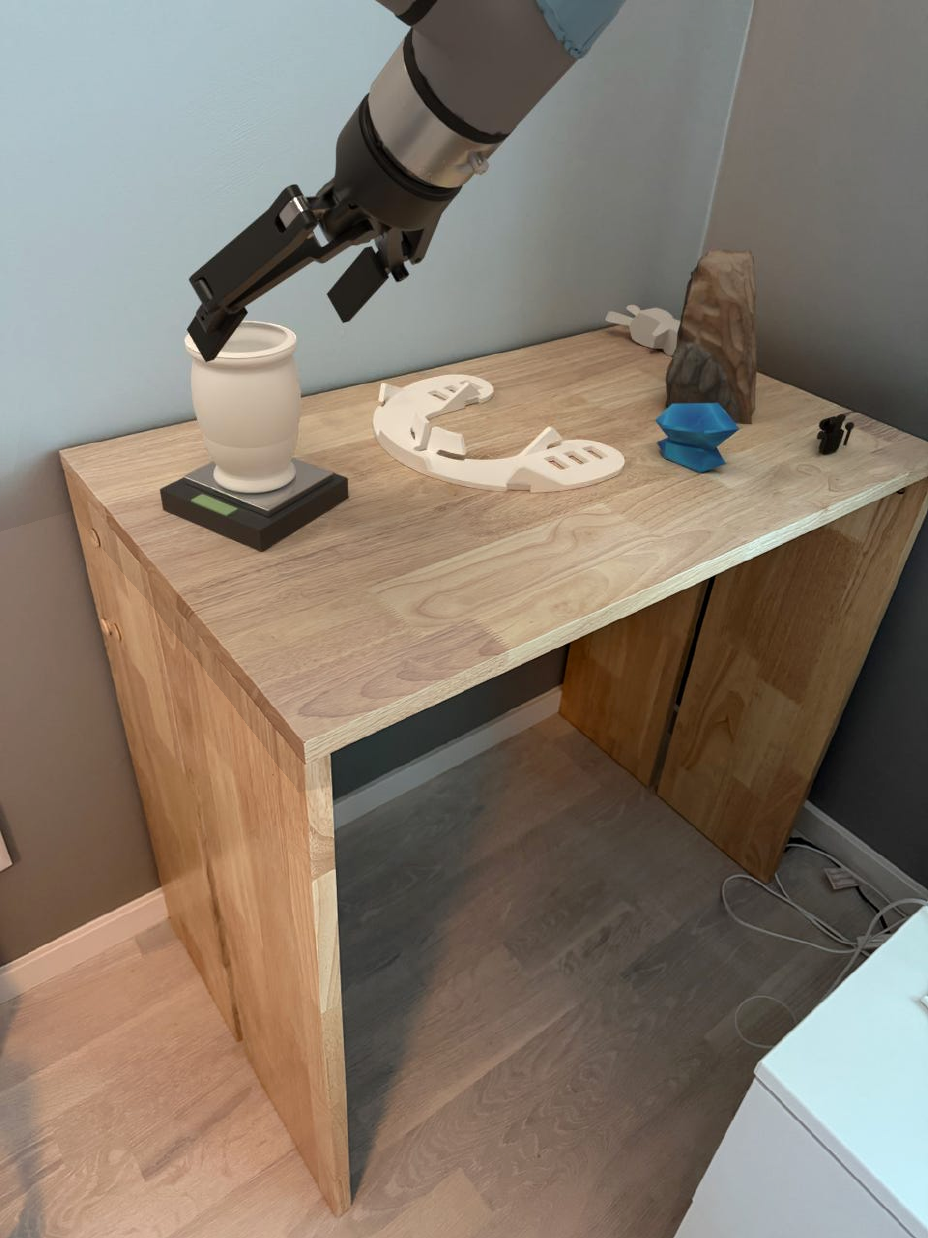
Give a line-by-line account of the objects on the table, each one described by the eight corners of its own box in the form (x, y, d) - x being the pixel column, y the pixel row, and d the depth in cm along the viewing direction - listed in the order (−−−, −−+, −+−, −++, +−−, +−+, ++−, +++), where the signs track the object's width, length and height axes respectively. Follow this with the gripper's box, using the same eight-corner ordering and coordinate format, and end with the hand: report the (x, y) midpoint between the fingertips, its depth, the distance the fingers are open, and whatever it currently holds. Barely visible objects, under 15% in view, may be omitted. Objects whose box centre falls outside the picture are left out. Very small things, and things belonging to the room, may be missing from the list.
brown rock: (660, 419, 119) (690, 266, 107) (649, 383, 129) (675, 240, 118) (753, 425, 119) (794, 272, 107) (734, 389, 129) (769, 246, 117)
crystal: (668, 387, 110) (759, 395, 103) (669, 454, 114) (756, 466, 107) (636, 403, 106) (729, 412, 98) (638, 472, 110) (727, 486, 102)
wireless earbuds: (814, 460, 112) (826, 423, 109) (799, 452, 113) (810, 415, 110) (849, 448, 115) (861, 412, 112) (833, 441, 116) (845, 405, 113)
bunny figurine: (679, 338, 134) (604, 301, 141) (670, 369, 137) (596, 332, 145) (713, 326, 140) (638, 291, 147) (703, 356, 143) (631, 320, 150)
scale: (163, 509, 94) (159, 487, 92) (254, 462, 103) (252, 441, 102) (261, 552, 88) (259, 529, 86) (348, 497, 98) (348, 476, 96)
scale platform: (183, 482, 93) (182, 475, 93) (251, 448, 101) (250, 441, 100) (268, 517, 89) (268, 510, 88) (333, 478, 96) (333, 472, 95)
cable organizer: (640, 467, 107) (645, 441, 105) (488, 522, 95) (491, 494, 93) (464, 374, 129) (465, 351, 127) (322, 409, 116) (320, 384, 114)
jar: (208, 505, 88) (188, 359, 79) (199, 459, 96) (180, 321, 87) (313, 493, 91) (305, 352, 82) (296, 450, 99) (287, 316, 90)
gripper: (288, 223, 45) (159, 410, 61) (570, 173, 60) (407, 332, 77) (212, 89, 44) (103, 314, 61) (516, 73, 60) (364, 256, 76)
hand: (273, 325), depth 69 cm, fingers open, 13 cm apart
